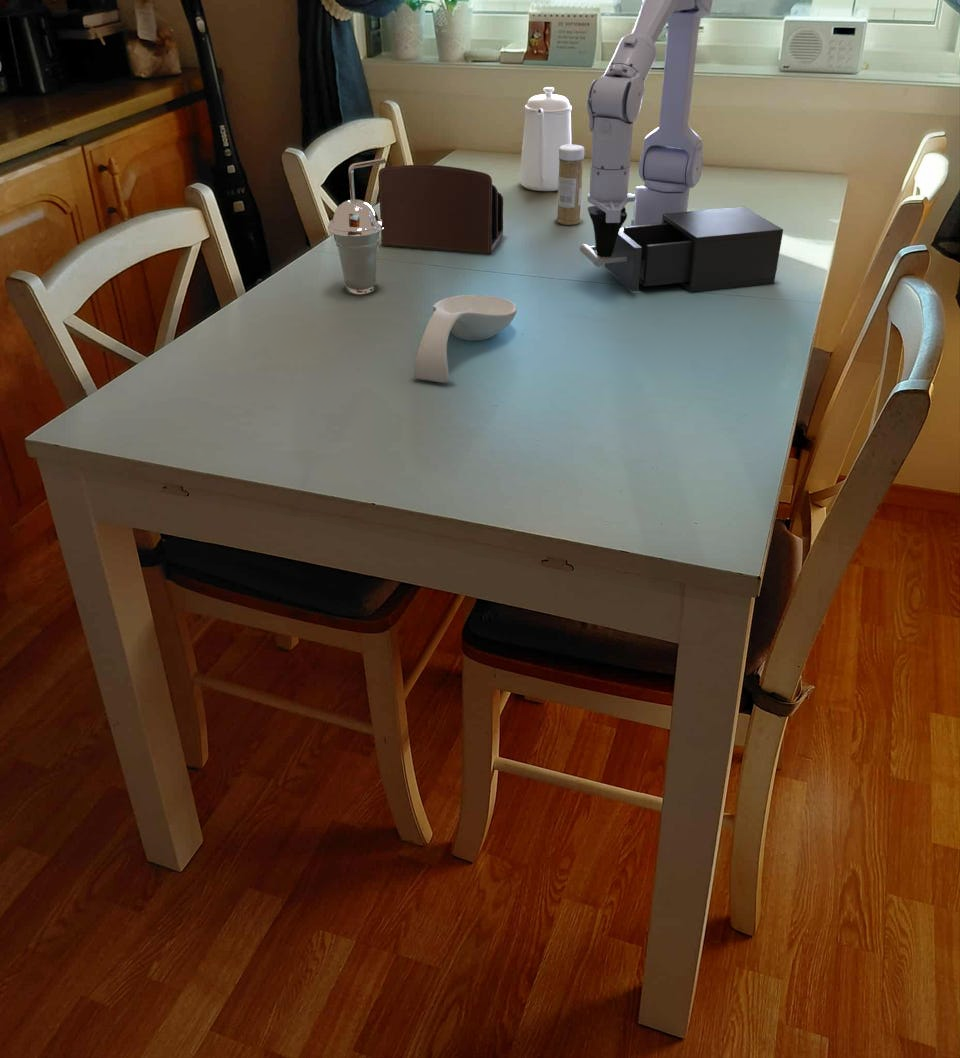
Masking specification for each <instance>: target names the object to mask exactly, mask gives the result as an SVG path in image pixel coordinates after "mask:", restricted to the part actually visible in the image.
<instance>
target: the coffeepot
mask: <svg viewBox="0 0 960 1058" xmlns="http://www.w3.org/2000/svg"><path fill="white" fill-rule="evenodd" d="M543 92H544V93H542V94H536V95H533V96H531V97H530V98H529V99H528V101H527V103H526V104H525V105H524V112H525V113H524V114H525V115H524V125H523V135H522V148H521V158H520V170H519V183H520V185H521V186H522V187H524V188H525V189H528V190H531V191H536V192H555V191H556V192H558V178H559V163H560V162H559V148H560V147H561V146H563V145H573V143H572V116H571V115H572V114H571V113H572V110H573V109H572V108H573V106H572V104H570V101H569V99H568V98H567V97H566V96H565V95H561V94H554V93H553V92H555V87H553V86H545V87H543Z"/></svg>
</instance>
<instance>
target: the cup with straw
mask: <svg viewBox="0 0 960 1058" xmlns="http://www.w3.org/2000/svg"><path fill="white" fill-rule="evenodd" d="M382 164H387V161H386V158H385V157H383V158H378V159H377V158H376V159H371V160H367V161H366V160H365V161H360V162H359V161H358V162H355V163H352V164H350V165H349V167H348V181H349V193H350V199H348V200H344V201H343V202H342V203H340V204H339V205H338V206H337V208H335V210H334V213H333V216H332V219H331V220H329V222H328V227H327V230H328V232H329V233H331V234H333V239H334V241H335V245H336V247H337V252H338V256H339V261H340V265H341V270H342V275H343V280H344V284H345V286H346V289H345V290H346V292H347V293H348V294H352V295H357V296H358V295H359V296H360V295H368V294H371V293H373V292H375V290H376V282H377V261H378V260H377V259H378V245H379V239H380V233H381V231H382V230H383V228H384V225H383V221H382V220H381V219H380V217H379V216H378V213H377V211H376V210H375V208H374V207H373V206H372V205H371V204H370V203H368V202H366V201H365V200H362V199H358V198H356V189H355V177H354V175H355V174H354V170H355V169H359V168H365V167H371V166H377V165H382Z"/></svg>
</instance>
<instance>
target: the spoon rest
mask: <svg viewBox="0 0 960 1058" xmlns="http://www.w3.org/2000/svg"><path fill="white" fill-rule="evenodd" d="M432 310H433V313H432V315H431V316H430V318H429V320H428V322H427V325H426V327H425V330H424V332H423V335H422V338H421V341H420V343H419V348H418V351H417V354H416V358H415V363H414V364H415V365H414V374H413V375H414V378H415V379H417V380H421V381H429V382H434V383H435V382H437V383H448V382H450V376H449V363H448V355H447V353H448V352H447V351H448V340H449V337H450V333H452V334H453V336H454V337H456V338H458V339H460V340H465V341H472V342H473V341H474V342H476V341H477V342H478V341H484V340H488V339H490V338H492V337H494V336H495V335H496V334H499V333H500V332H502V331H504V329H506V328H507V327H508V326H509V325H510V324H511V323H512V321H513V320H514V318H515V317H516V315H517V312H518V307H517V305H516V304H515V303H514V302H513V301H511V300H509V299H507V298H504V297H503V298H502V297H498V296H492V295H483V294H464V295H462V294H461V295H454V296H451V297H446V298H443V299H440V300H438V301H436V302H435V303H434V304H433V305H432Z"/></svg>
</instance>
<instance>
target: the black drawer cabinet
mask: <svg viewBox="0 0 960 1058" xmlns="http://www.w3.org/2000/svg"><path fill="white" fill-rule="evenodd" d="M662 223H669V224H671V225H672V226H673V227H675V228H676V229H678V230H679V231H680V232H682V233H683V234H685V235H686V236H687V237H689V238H690V239H692V240H693V241H694V244H693V253H692V261H691V269H690V278H689V282H682V283H678V284H679V285H680V286H682V287H683V288H684V289H686V290H687V291H688V292H689V293H696V292H704V291H705V292H706V291H712V290H713V291H714V290H722V289H723V290H724V289H733V288H741V287H750V286H751V287H752V286H759V285H769V284H775V280H776V274H777V269H778V263H779V257H780V251H781V246H782V239H783V233H784V229H783V228H782V227H780V226H778V225H777V224H775V223H773V222H772V221H770V220H768V219H766V218H765V217H763V216H762V215H760V214H758V213H756V212H754V211H753V210H752V209H750V208H749V207H746V206H734V207H723V208H711V209H701V210H689V211H688V210H687V212H677V213H666V214H663V216H662Z"/></svg>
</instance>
